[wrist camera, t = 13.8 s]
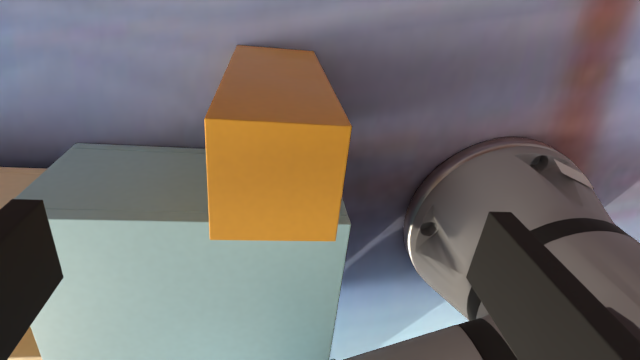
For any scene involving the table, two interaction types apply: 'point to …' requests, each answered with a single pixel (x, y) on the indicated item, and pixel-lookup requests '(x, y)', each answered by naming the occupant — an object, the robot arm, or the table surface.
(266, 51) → the orange rectangular block
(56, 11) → the table surface
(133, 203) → the cabinet
